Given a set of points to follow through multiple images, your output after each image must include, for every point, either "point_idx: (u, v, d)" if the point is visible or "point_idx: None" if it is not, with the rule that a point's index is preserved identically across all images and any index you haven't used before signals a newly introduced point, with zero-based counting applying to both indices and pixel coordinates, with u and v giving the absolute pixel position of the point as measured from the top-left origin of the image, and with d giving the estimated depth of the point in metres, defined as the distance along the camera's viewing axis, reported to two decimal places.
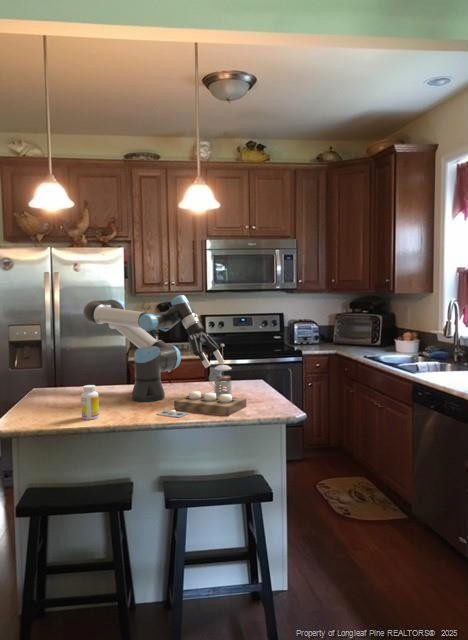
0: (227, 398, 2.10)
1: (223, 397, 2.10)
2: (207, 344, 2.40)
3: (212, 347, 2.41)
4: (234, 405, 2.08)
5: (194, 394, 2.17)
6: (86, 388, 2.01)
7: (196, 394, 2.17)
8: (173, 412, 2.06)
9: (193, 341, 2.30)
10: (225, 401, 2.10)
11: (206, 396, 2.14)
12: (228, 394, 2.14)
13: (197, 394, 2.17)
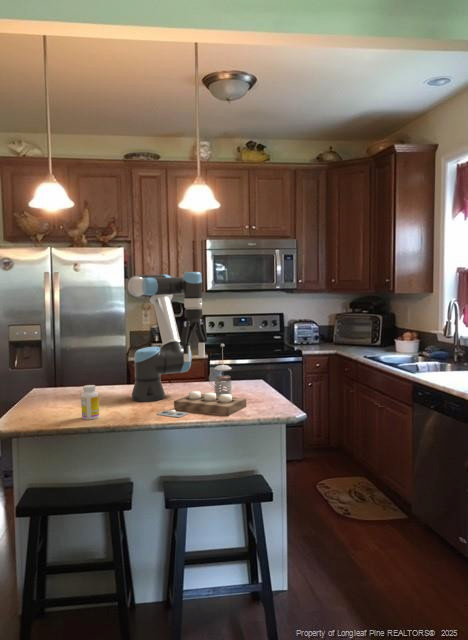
0: (227, 398, 2.10)
1: (223, 397, 2.10)
2: (197, 332, 2.21)
3: (200, 337, 2.23)
4: (234, 405, 2.08)
5: (194, 394, 2.17)
6: (86, 388, 2.01)
7: (196, 394, 2.17)
8: (173, 412, 2.06)
9: (185, 330, 2.11)
10: (225, 401, 2.10)
11: (206, 396, 2.14)
12: (228, 394, 2.14)
13: (197, 394, 2.17)
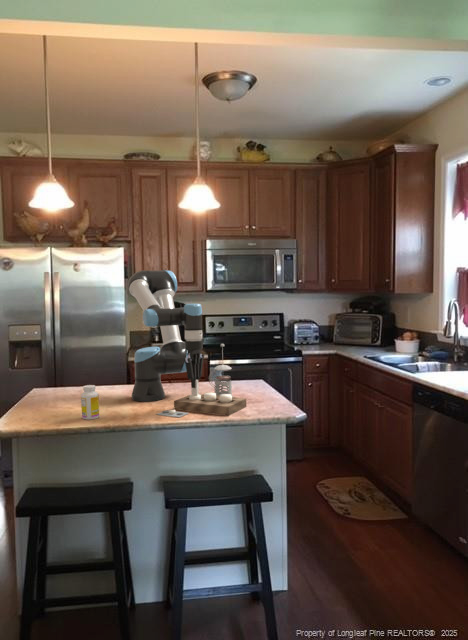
0: (227, 398, 2.10)
1: (223, 397, 2.10)
2: None
3: None
4: (234, 405, 2.08)
5: (194, 397, 2.17)
6: (86, 388, 2.01)
7: (196, 397, 2.17)
8: (173, 412, 2.06)
9: (188, 366, 2.14)
10: (225, 401, 2.10)
11: (206, 396, 2.14)
12: (228, 394, 2.14)
13: (197, 397, 2.18)
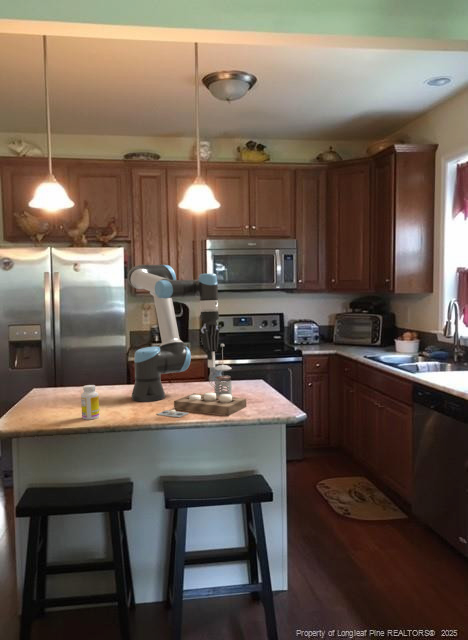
0: (227, 398, 2.10)
1: (223, 397, 2.10)
2: None
3: (211, 344, 2.14)
4: (234, 405, 2.08)
5: (194, 398, 2.17)
6: (86, 388, 2.01)
7: (196, 398, 2.17)
8: (173, 412, 2.06)
9: (204, 337, 2.09)
10: (225, 401, 2.10)
11: (206, 396, 2.14)
12: (228, 394, 2.14)
13: (197, 398, 2.18)
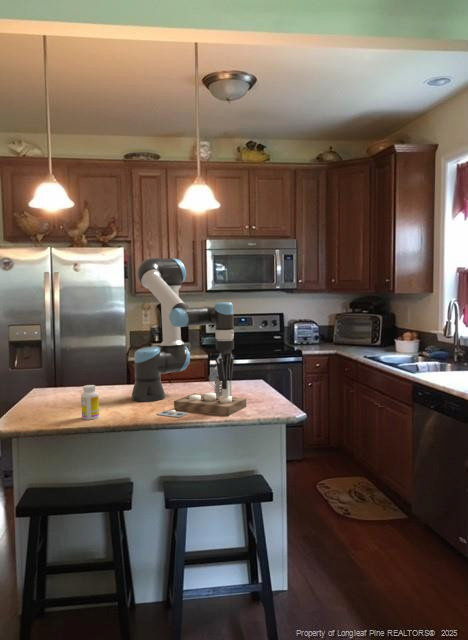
0: (227, 400, 2.10)
1: (223, 399, 2.11)
2: None
3: (226, 373, 2.13)
4: (234, 405, 2.08)
5: (194, 398, 2.17)
6: (86, 388, 2.01)
7: (196, 398, 2.17)
8: (173, 412, 2.06)
9: (220, 367, 2.07)
10: None
11: (206, 396, 2.14)
12: None
13: (197, 398, 2.18)
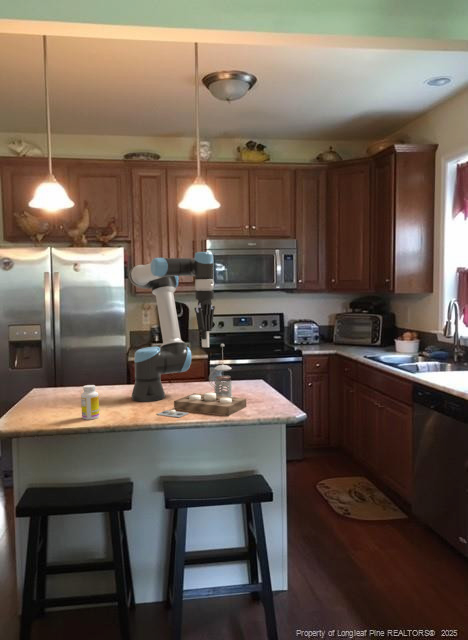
0: (227, 402, 2.10)
1: (223, 401, 2.11)
2: None
3: None
4: (234, 405, 2.08)
5: (194, 398, 2.17)
6: (86, 388, 2.01)
7: (196, 398, 2.17)
8: (173, 412, 2.06)
9: (199, 316, 2.07)
10: None
11: (206, 396, 2.14)
12: (228, 398, 2.14)
13: (197, 398, 2.18)
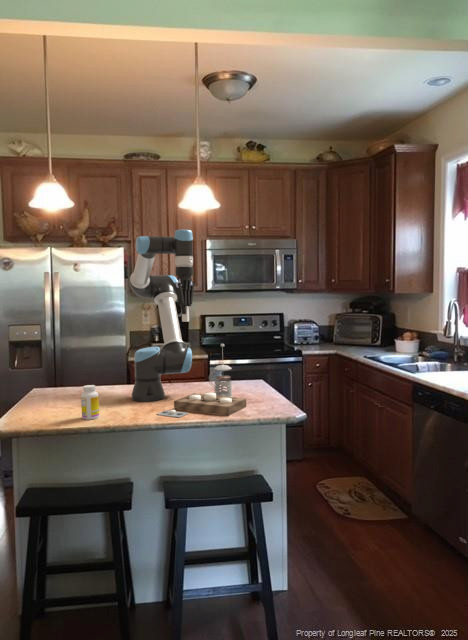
0: (227, 402, 2.10)
1: (223, 401, 2.11)
2: None
3: None
4: (234, 405, 2.08)
5: (194, 398, 2.17)
6: (86, 388, 2.01)
7: (196, 398, 2.17)
8: (173, 412, 2.06)
9: (179, 291, 2.15)
10: None
11: (206, 396, 2.14)
12: (228, 398, 2.14)
13: (197, 398, 2.18)
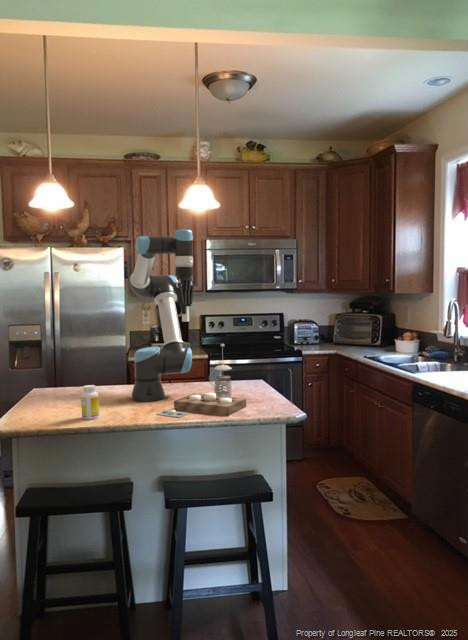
0: (227, 402, 2.10)
1: (223, 401, 2.11)
2: None
3: None
4: (234, 405, 2.08)
5: (194, 398, 2.17)
6: (86, 388, 2.01)
7: (196, 398, 2.17)
8: (173, 412, 2.06)
9: (179, 291, 2.15)
10: None
11: (206, 396, 2.14)
12: (228, 398, 2.14)
13: (197, 398, 2.18)
